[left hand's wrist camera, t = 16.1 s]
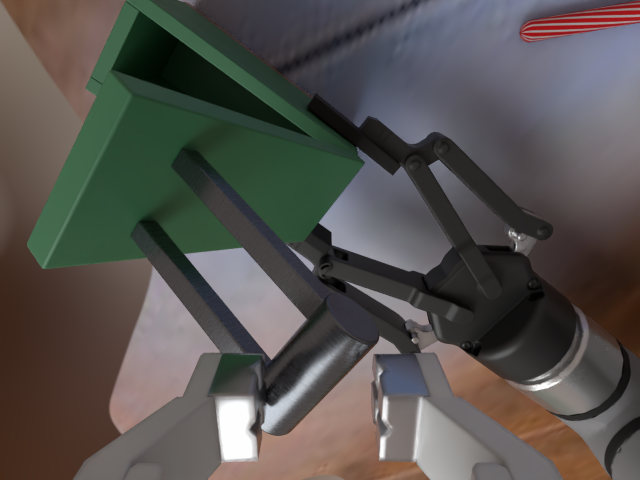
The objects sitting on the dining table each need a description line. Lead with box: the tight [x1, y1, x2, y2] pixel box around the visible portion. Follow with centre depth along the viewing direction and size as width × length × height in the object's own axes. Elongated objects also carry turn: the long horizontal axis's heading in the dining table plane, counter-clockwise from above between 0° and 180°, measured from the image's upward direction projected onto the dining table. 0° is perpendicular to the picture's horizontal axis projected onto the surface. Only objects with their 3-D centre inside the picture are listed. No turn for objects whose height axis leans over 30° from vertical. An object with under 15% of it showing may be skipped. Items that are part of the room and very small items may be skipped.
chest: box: [86, 0, 358, 155], centre depth 27 cm, size 14×6×9 cm, turn 54°
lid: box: [27, 70, 379, 436], centre depth 16 cm, size 15×6×9 cm
